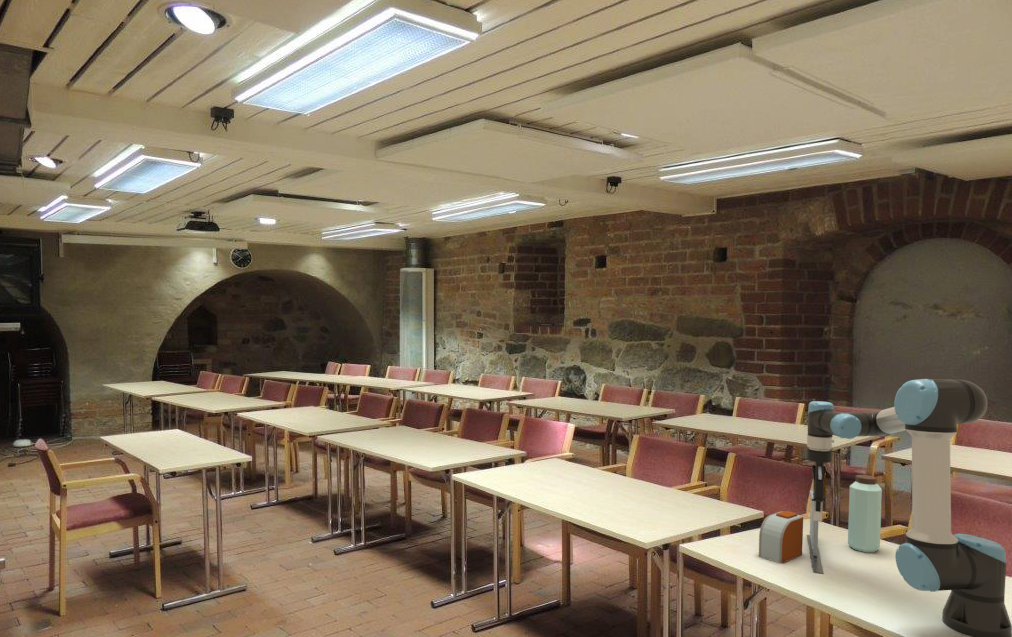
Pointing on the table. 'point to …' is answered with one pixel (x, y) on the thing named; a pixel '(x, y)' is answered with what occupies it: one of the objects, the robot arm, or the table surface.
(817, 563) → the rail
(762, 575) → the table surface
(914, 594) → the table surface
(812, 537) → the screen
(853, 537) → the water bottle
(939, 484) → the robot arm
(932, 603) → the table surface
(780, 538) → the alarm clock
